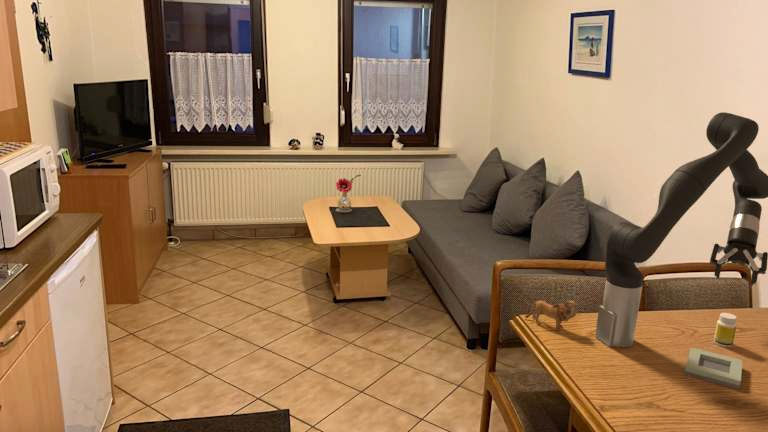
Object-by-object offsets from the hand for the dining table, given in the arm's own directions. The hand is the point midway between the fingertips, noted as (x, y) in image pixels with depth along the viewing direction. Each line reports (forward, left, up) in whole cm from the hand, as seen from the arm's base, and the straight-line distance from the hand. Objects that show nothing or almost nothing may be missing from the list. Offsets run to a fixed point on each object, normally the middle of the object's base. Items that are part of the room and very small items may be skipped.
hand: (734, 280), depth 176 cm
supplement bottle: (-9, -8, -15) cm, 19 cm away
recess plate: (-24, -19, -15) cm, 34 cm away
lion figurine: (-49, +15, -15) cm, 54 cm away
